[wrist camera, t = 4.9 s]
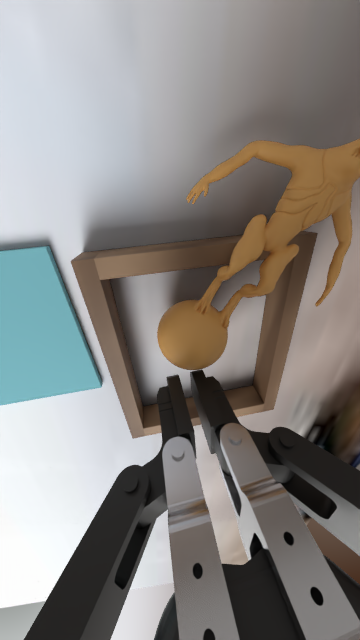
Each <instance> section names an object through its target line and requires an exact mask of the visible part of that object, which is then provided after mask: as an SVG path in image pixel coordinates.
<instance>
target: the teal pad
mask: <svg viewBox="0 0 360 640" xmlns="http://www.w3.org/2000/svg"><path fill="white" fill-rule="evenodd" d="M101 387H102V381H101V378H100V376H99V373H98V371H97V368H96V366H95V363H94V360H93V358H92V355H91V353H90V350H89V348H88V345H87V342H86V340H85V337H84V335H83V332H82V330H81V327H80V324H79V322H78V319H77V317H76V314H75V312H74V309H73V307H72V304H71V301H70V299H69V296H68V294H67V291H66V289H65V286H64V283H63V281H62V278H61V276H60V273H59V271H58V268H57V266H56V263H55V260H54V258H53V255H52V253H51V250H50V248H49V246H41V247H32V248H22V249H13V250H3V251H0V405H5V404H11V403H17V402H22V401H28V400H33V399H39V398H45V397H50V396H56V395H62V394H67V393H73V392H78V391H84V390H90V389H95V388H101Z"/></svg>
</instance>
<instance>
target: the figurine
mask: <svg viewBox="0 0 360 640" xmlns="http://www.w3.org/2000/svg"><path fill="white" fill-rule="evenodd" d="M252 157H255V158H258V159H260V160H263V161H266V162H269V163H273V164H276V165H279V166H283V167H286V168H288V169H289V170H290V171H291V172H292V177H291V179H290V181H289V183H288V185H287V187H286V190H285V192H284V193H283V195H282V197H281V200H279V202H278V204H277V207H276V209H275V211H276V212H274V213H273V215H272V216H271V218H270V220H269V222H268V223H267V224H266V222H267V218H266V217H265V215H262V214H261V215H257V216H255V217H253V218H252V220H251V221H250V222H249V224H248V225H247V227H246V229H245V232H244V234H243V236H242V238H241V239H240V240H239V242H238V243H237V244H236V246H235V248H234V250H233V252H232V256H231V259H230V264H229V266H228V265H226V266H223V267H221V268H220V269H219V270H218V272H217V277H216V278H215V279H214V280H213V282H212V283H211V284H210V286H209V288H208V289H207V291H206V292H205V294H204V295H203V297H202V298H201V299H200V300H185V301H181V302H179V303H177V304H175V305H173V306H172V307H170V308H169V309H168V310H167V311H166V312H165V314H164V315H163V316H162V318H161V320H160V323H159V326H158V332H157V338H158V344H159V347H160V349H161V351H162V353H163V355H164V356H165V357H166V358H167V359H168V360H169V361H170V362H171V363H172V364H174V365H175V366H177V367H180V368H182V369H186V370H199V369H203V368H206V367H208V366H210V365H212V364H213V363H214V362H216V361H217V360H218V359H219V358H220V356H221V355H222V353H223V352H224V350H225V347H226V344H227V338H228V332H227V327H228V325H229V318H230V316H231V314H232V312H233V310H234V309H235V307H236V306H237V304H238V303H239V301H240V300H241V298H242V297H247V298H251V297H255V296H263V295H266V294H269V293H271V292H272V291H273V290H274V288H275V285H276V282H277V281H278V279H279V277H280V275H281V274H282V272H283V270H284V269H285V267H286V265H287V264H288V263H289V262H290V261H291V260H292V259H293V258H294V257H295V256H296V255H297V253H298V251H299V246H298V245H296V244H291V245H288V246H287V244H288V243H289V241H290V240H292V239H293V238H294V237H295V236H296V235H297V234H298V233H299V232H300V231H303V230H305V229H307V228H308V227H310V226H311V225H312V224H315V223H317V222H320V221H322V220H323V219H325V218H327V217H328V216H330V215H332V218H333V223H334V228H335V232H336V236H337V239H338V242H339V245H338V247H337V249H336V250H335V252H334V255H333V259H332V262H331V264H330V267H329V271H328V276H327V284H326V288H325V290H324V292H323V294H322V296H321V298H320V299H319V300H318V301H317V302H316V304H317V305H316V304H315V305H316V306H318V305H320V304H321V302H322V301H323V300H324V299H325V298H326V296H327V295H328V294H329V293H330V291H331V290H332V288H333V286H334V284H335V282H336V280H337V278H338V276H339V273H340V270H341V266H342V262H343V258H344V256H345V254H346V252H347V250H348V248H349V246H350V243H351V238H352V220H351V215H350V208H351V198H352V197H351V190H352V186H353V184H354V182H355V181H356V180H357V179H358V178H359V177H360V139H358V140H355V141H353V142H350V143H348V144H345V145H342V146H338V147H333V148H329V149H316V148H312V147H309V146H305V145H296V146H290V145H285V144H282V143H278V142H272V141H263V140H260V141H254V142H251V143H249V144H248V145H246V146H245V147H244V148H243V149H242V150H241V151H240V152H239V153H237V154H236V155H235V156H233V157H232V158H230V159H228V160H227V161H225V162H223V163H221V164H219V165H218V166H217V167H216V168H215V169H213V170H212V171H211V172H209V173H208V174H207V175H205V176H204V177H203V178H202V179H201V180H200V181H199V182H198V183H197V184H196V185H195V186H194V187H193V189H192V190H191V191H190V193H189V194H188V196H187V198H186V200H187V199H188V203H189V202H190V200H191V199H192V198H193V196H194V195H195V194H196V195H195V197H194V199H193V202H192V204H194V203H195V201H196V199H197V198H198V197H199V195H200V194H201V192H202V191H203V190H204V191H205V192H204V197H205V196H206V195H207V193H208V189H209V184H210V183H212V182H215V181H217V180H220V179H222V178H224V177H226V176H228V175H229V174H231V173H232V172H233V171H234V170H236V169H237V168H238V167H240V166H242V165H244V164H245V163H247V162H248V161H249V160H250V159H251V158H252ZM263 250H264V251H270V254H269V256H268V257H267V258H266V259H265V260H264V261H263V263H262V264H261V266H260V268H259V272H260V281H259V283H258V285H257V287H256V286H255V285H252V284H246V285H244V286H243V287H242V288H241V289H240V290H238V291H237V292H236V293H235V294H234V295H233V296H232V298H231V299H230V300H229V302H228V303H227V305H226V306H225V307H224V309H223V310H222V311H220V312H219V311H218V310H217V309H215V308H214V307H213V306H212V305H210V304H211V301H212V299H213V297H214V295H215V294H216V292H217V290H218V289H219V287H220V285H221V283H222V281H223V280H228V279H230V278H231V277H232V276H233V275H234V274H235V273H237V272H238V271H240V270H242V269H243V268H244V267H245V266H246V265H247V264H249V263H251V262H253V261H255V260H256V259H257V258H258V257H259V256H260V255H261V253H262V252H263Z"/></svg>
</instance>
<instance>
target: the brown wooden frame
mask: <svg viewBox="0 0 360 640" xmlns="http://www.w3.org/2000/svg"><path fill="white" fill-rule="evenodd" d="M317 234H318V233H312V232H306V231H300V232H299V233H298V234H297V235H296V236H295V237H294V238H293V239H292V240H290V241H289V243H288V244H287V246H288V245H291V244H296V245H298V246H299V251H298V253H297V255H296V256H295V257H294V258H293V259H292V260H291V261H290V262H289V263H288V264H287V265H286V267H285V269H284V270H283V272H282V274H281V275H280V277H279V279H278V281H277V282H276V285H275V288H274V290H273V291H272V292H271V293H269V294H267V295H266V302H265V308H264V315H263V321H262V328H261V334H260V341H259V347H258V354H257V361H256V367H255V374H254V380H253V386H247V387H242V388H237V389H232V390H227V391H224V393H225V395H226V397H227V399H228V401H229V403H230V405H231V407H232V409H233V411H234V413H235V415H236V417H239V416H244V415H249V414H254V413H258V412H263V411H268V410H273V409H274V406H275V402H276V398H277V394H278V390H279V386H280V382H281V378H282V374H283V370H284V366H285V362H286V358H287V354H288V350H289V346H290V342H291V338H292V334H293V330H294V326H295V322H296V318H297V314H298V310H299V306H300V302H301V298H302V294H303V290H304V286H305V282H306V278H307V274H308V270H309V266H310V262H311V258H312V254H313V250H314V246H315V242H316V238H317ZM242 236H243V235H237V236H228V237H219V238H210V239H201V240H192V241H183V242H174V243H164V244H155V245H146V246H137V247H128V248H119V249H110V250H101V251H91V252H82V253H81V254H80V255H78V256H77V257H76V258H74V259H73V260H72V261H71V264H72V267H73V269H74V272H75V275H76V278H77V281H78V284H79V287H80V289H81V292H82V295H83V298H84V301H85V304H86V306H87V309H88V312H89V315H90V318H91V321H92V324H93V326H94V329H95V332H96V335H97V338H98V341H99V344H100V346H101V349H102V352H103V355H104V358H105V361H106V364H107V366H108V369H109V372H110V375H111V378H112V381H113V384H114V386H115V389H116V392H117V395H118V398H119V401H120V404H121V406H122V409H123V412H124V415H125V418H126V421H127V423H128V426H129V429H130V432H131V435H132V438H138V437H143V436H147V435H152V434H157V433H162V432H161V424H160V416H159V408H158V404H154V405H148V406H143V404H142V400H141V397H140V393H139V389H138V385H137V381H136V378H135V374H134V370H133V366H132V363H131V359H130V355H129V351H128V348H127V344H126V340H125V336H124V333H123V329H122V325H121V321H120V317H119V314H118V310H117V306H116V302H115V299H114V295H113V291H112V287H111V284H110V280H109V279H113V278H121V277H129V276H137V275H145V274H153V273H161V272H169V271H177V270H185V269H193V268H201V267H209V266H217V265H225V264H230V259H231V256H232V252H233V250H234V248H235V246H236V244H237V243H238V242H239V240H240V239H241V238H242ZM269 254H270V251H264V250H263V252H262V253H261V255H260V256H259V257H258V258H257V259H256V260H255V261H257V260H265V259H266V258H267V257H268V256H269ZM185 400H186V404H187V407H188V411H189V414H190V418H191V422H192V425H193V426H196V425H201V421H200V418H199V415H198V412H197V409H196V405H195V402H194V399H193V397H190V398H185Z"/></svg>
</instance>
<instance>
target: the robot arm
mask: <svg viewBox="0 0 360 640" xmlns="http://www.w3.org/2000/svg"><path fill="white" fill-rule="evenodd" d="M190 377H191V390H192V395H193V399H194V402H195V405H196V409H197V412H198V415H199V418H200V421H201V424H202V427H203V430H204V434H205V437H206V440H207V443H208V446H209V449H210V452H211V454H214V453H216V454H217V457H218V460H219V469H220V472H221V475H222V478H223V481H224V483H225V486H226V489H227V492H228V495H229V498H230V501H231V503H232V506H233V509H234V512H235V515H236V518H237V522H238V528H239V532H240V536H241V539H242V542H243V545H244V548H245V551H246V554H247V557H248V560H249V561H248V562H247V563H246V564H244V565H232V564H221V560H220V556H219V551H218V547H217V543H216V539H215V535H214V530H213V526H212V522H211V518H210V514H209V510H208V507H207V505H206V502H205V498H204V494H203V490H202V485H201V481H200V477H199V473H198V468H197V464H196V448H195V435H194V429H193V425H192V422H191V418H190V414H189V411H188V407H187V404H186V400H185V396H184V393H183V389H182V385H181V382H180V378H179V375H174V376H169V377H167V383H168V386H166V387H162V388H159V391H158V394H157V400H158V408H159V416H160V424H161V432H162V447H161V450H160V452H159V453H158V455H157V456H156V457H155V458H154V459H153V460H151V461H150V462H148V463H147V464H145V465H144V466H142V467H141V466H139V465H132V466H129V467H127V468H125V469H124V470H123V471H122V472H121V473H120V474H119V476H118V477H117V479H116V481H115V482H114V484H113V486H112V488H111V489H110V491H109V493H108V494H107V496H106V498H105V500H104V501H103V503H102V505H101V507H100V508H99V510H98V512H97V514H96V515H95V517H94V519H93V520H92V522H91V524H90V526H89V527H88V529H87V531H86V533H85V534H84V536H83V538H82V540H81V541H80V543H79V545H78V547H77V548H76V550H75V552H74V553H73V555H72V557H71V559H70V560H69V562H68V564H67V566H66V567H65V569H64V571H63V573H62V574H61V576H60V578H59V579H58V581H57V583H56V585H55V586H54V588H53V590H52V592H51V593H50V595H49V597H48V599H47V600H46V602H45V604H44V606H43V607H42V609H41V611H40V612H39V614H38V616H37V618H36V619H35V621H34V623H33V625H32V627H31V628H30V630H29V632H28V633H27V635H26V637H25V639H24V640H110V639H111V636H112V634H113V631H114V629H115V626H116V623H117V621H118V618H119V615H120V613H121V610H122V607H123V605H124V602H125V600H126V597H127V594H128V592H129V589H130V587H131V584H132V581H133V579H134V576H135V573H136V571H137V568H138V566H139V563H140V560H141V558H142V555H143V552H144V550H145V547H146V545H147V542H148V539H149V537H150V534H151V531H152V529H153V526H154V524H155V521H156V518H157V517H159V516H160V515H161V514H162V513H164V512H165V511H166V510H167V509H168V528H169V539H170V549H171V559H172V569H173V579H174V588H175V592H174V594H173V595H172V597H171V598H170V600H169V602H168V603H167V605H166V608H165V609H164V612H163V614H162V617H161V619H160V622H159V625H158V628H157V631H156V635H155V638H154V640H360V585H359V584H358V583H357V582H356V581H355V580H354V579H352V578H351V577H350V576H349V575H348V574H346V573H345V572H344V571H343V570H342V569H341V568H339V567H338V566H337V565H336V564H335V563H334V562H332V561H331V560H330V559H328V558H327V557H326V556H324V555H323V554H322V553H321V551H320V549H319V548H318V546H317V544H316V542H315V540H314V539H313V537H312V535H311V533H310V531H309V530H308V528H307V526H306V524H305V523H304V521H303V519H302V517H301V515H300V514H299V512H298V510H297V508H296V507H295V505H294V503H295V504H296V505H297V506H298V507H299V508H301V509H302V510H303V511H304V512H306V513H307V514H308V515H309V516H311V517H312V518H313V519H314V520H316V521H317V522H318V523H319V524H321V525H322V526H323V527H325V528H326V529H327V530H328V531H329V532H331V533H332V534H333V535H334V536H336V537H337V538H338V539H339V540H341V541H342V542H343V543H345V544H346V545H347V546H348V547H349V548H351V549H352V550H353V551H354V552H355V553H357V554H358V555H359V556H360V471H359V470H357V469H356V468H354V467H352V466H351V465H349V464H347V463H346V462H344V461H342V460H341V459H339V458H337V457H335V456H334V455H332V454H330V453H329V452H327V451H325V450H324V449H322V448H320V447H319V446H317V445H315V444H314V443H312V442H310V441H309V440H307V439H305V438H304V437H302V436H300V435H299V434H297V433H295V432H293V431H292V430H290V429H288V428H284V427H276V428H274V429H273V430H272V431H271V432H270V433H262V432H254V431H250V430H248V429H246V428H245V427H244V426H242V425H241V424H240V422H239V421H238V419H237V417H236V415H235V413H234V411H233V409H232V407H231V405H230V403H229V401H228V399H227V397H226V395H225V393H224V391H223V389H222V387H221V385H220V383H219V382H218V381H217V380H216V379H215V378H214V377H213V376H212V377H207V378H206V377H205V374H204V372H203V370H197V371H192V372H190Z"/></svg>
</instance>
